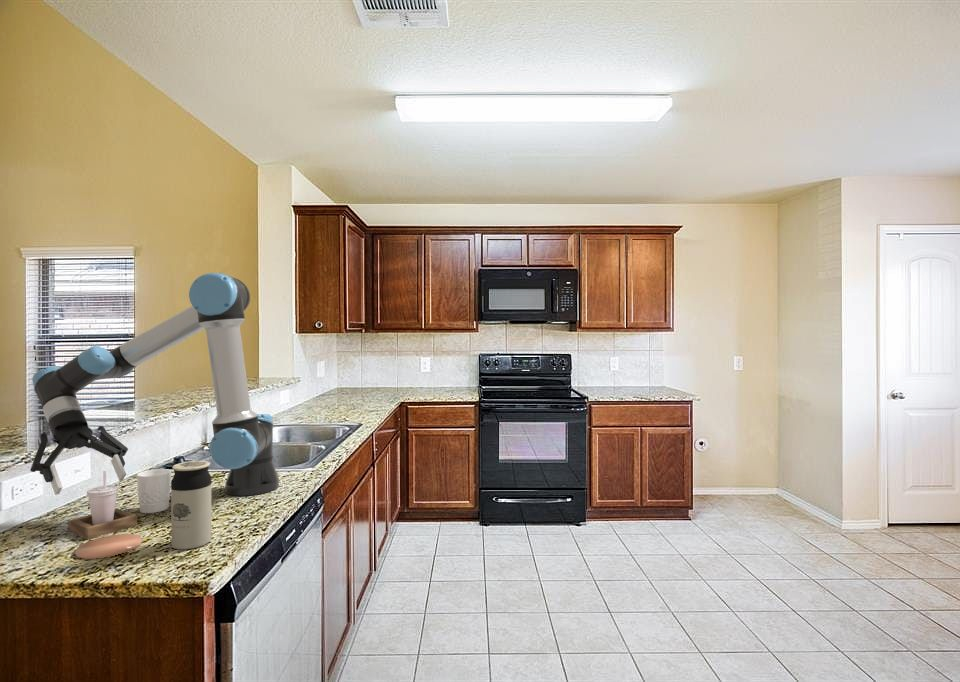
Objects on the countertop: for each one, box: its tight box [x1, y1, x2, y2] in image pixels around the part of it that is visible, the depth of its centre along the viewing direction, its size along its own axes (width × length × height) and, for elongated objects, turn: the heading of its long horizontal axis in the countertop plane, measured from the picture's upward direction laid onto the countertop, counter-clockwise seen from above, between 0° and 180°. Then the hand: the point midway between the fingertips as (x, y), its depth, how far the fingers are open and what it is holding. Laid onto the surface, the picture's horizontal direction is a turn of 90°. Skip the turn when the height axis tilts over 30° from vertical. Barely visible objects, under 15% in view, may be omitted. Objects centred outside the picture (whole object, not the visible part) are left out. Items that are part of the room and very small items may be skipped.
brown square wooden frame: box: [67, 507, 138, 540], centre depth 127 cm, size 10×10×2 cm
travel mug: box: [170, 460, 212, 550], centre depth 118 cm, size 8×8×18 cm
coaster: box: [75, 533, 143, 560], centre depth 115 cm, size 12×12×1 cm
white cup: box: [136, 468, 172, 514], centre depth 141 cm, size 8×8×10 cm
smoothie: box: [86, 470, 120, 526], centre depth 127 cm, size 6×6×14 cm
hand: (92, 484), depth 128 cm, fingers open, 13 cm apart
